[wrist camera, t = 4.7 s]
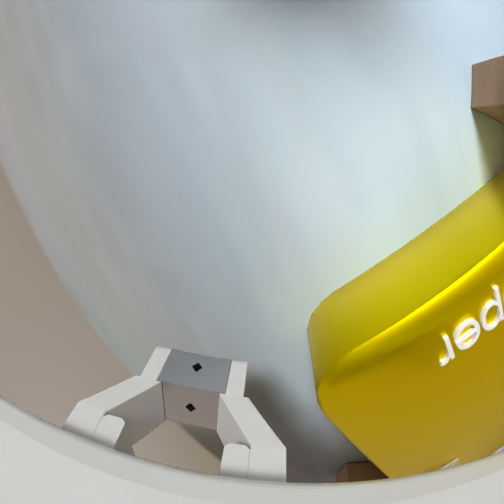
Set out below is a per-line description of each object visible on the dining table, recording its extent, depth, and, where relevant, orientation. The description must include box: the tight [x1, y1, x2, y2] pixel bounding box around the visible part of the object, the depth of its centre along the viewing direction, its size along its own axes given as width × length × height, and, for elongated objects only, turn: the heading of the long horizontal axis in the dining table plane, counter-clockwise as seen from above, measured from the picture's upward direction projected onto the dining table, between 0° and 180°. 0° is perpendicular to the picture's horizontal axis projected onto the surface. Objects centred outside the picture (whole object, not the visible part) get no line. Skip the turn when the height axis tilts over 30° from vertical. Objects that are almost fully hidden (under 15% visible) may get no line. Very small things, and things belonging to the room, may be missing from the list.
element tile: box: [307, 169, 504, 478], centre depth 10 cm, size 15×15×5 cm
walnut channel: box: [336, 56, 504, 483], centre depth 10 cm, size 6×25×4 cm, turn 173°
